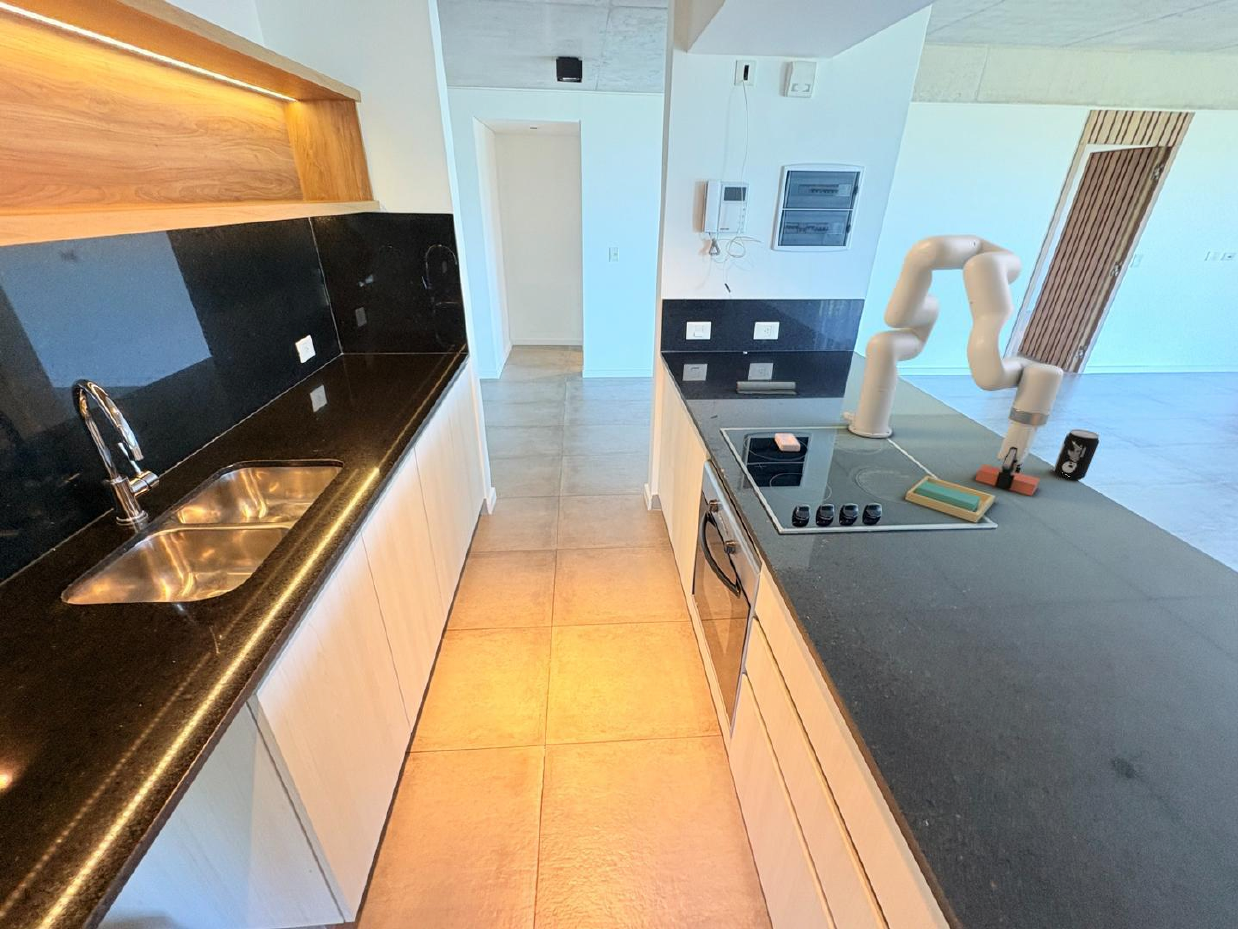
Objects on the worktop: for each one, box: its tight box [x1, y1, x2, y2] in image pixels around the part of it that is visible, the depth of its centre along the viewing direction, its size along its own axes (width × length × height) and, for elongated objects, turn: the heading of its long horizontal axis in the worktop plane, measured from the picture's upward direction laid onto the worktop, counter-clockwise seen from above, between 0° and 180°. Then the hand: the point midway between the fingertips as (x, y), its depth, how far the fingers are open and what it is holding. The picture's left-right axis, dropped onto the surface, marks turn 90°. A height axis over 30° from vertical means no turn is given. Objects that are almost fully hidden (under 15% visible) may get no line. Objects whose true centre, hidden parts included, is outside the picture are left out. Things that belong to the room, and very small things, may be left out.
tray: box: [904, 475, 996, 524], centre depth 126 cm, size 15×13×2 cm
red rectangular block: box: [975, 464, 1040, 497], centre depth 134 cm, size 12×5×3 cm, turn 43°
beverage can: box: [1052, 428, 1100, 481], centre depth 136 cm, size 7×7×12 cm
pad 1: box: [916, 481, 981, 512], centre depth 124 cm, size 12×5×3 cm, turn 44°
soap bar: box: [774, 432, 801, 452], centre depth 157 cm, size 5×9×2 cm, turn 177°
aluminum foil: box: [735, 381, 797, 395], centre depth 207 cm, size 23×7×3 cm, turn 88°
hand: (1005, 483), depth 134 cm, fingers open, 5 cm apart
